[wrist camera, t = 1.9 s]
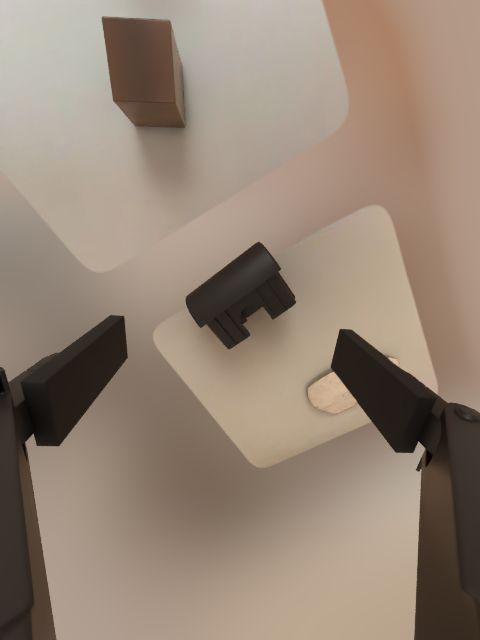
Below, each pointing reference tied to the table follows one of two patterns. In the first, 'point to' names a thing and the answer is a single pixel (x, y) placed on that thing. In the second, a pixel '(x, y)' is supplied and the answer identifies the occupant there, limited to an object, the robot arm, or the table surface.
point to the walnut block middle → (145, 70)
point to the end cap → (240, 295)
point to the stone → (333, 393)
